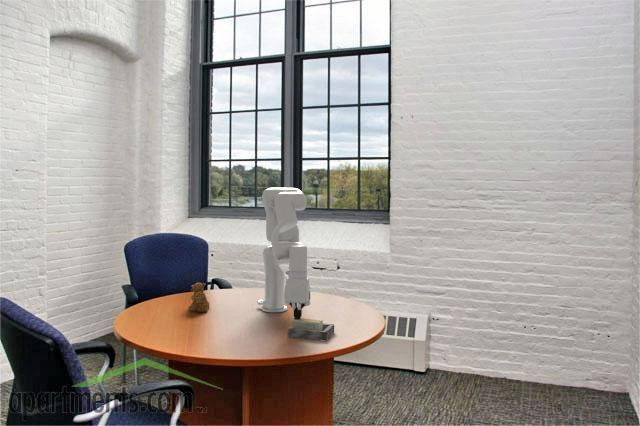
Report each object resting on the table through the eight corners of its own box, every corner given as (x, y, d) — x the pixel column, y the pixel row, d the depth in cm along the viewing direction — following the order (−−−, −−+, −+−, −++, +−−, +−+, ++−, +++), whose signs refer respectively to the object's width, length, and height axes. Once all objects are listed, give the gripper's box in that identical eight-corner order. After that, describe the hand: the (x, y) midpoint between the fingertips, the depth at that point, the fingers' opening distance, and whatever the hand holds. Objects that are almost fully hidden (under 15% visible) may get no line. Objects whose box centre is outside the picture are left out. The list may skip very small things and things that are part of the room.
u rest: (287, 336, 210) (287, 328, 209) (298, 328, 221) (298, 320, 221) (325, 341, 205) (325, 332, 205) (334, 332, 216) (334, 324, 216)
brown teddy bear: (207, 306, 259) (207, 280, 258) (213, 313, 246) (213, 285, 245) (187, 308, 255) (187, 281, 254) (192, 315, 242) (191, 287, 241)
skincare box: (295, 331, 217) (322, 335, 213) (291, 334, 213) (319, 338, 209) (296, 316, 217) (323, 320, 212) (291, 318, 213) (319, 322, 208)
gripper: (277, 275, 212) (277, 319, 213) (312, 277, 207) (311, 322, 208) (284, 272, 219) (284, 314, 220) (317, 274, 214) (317, 318, 216)
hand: (297, 318), depth 214 cm, fingers closed
